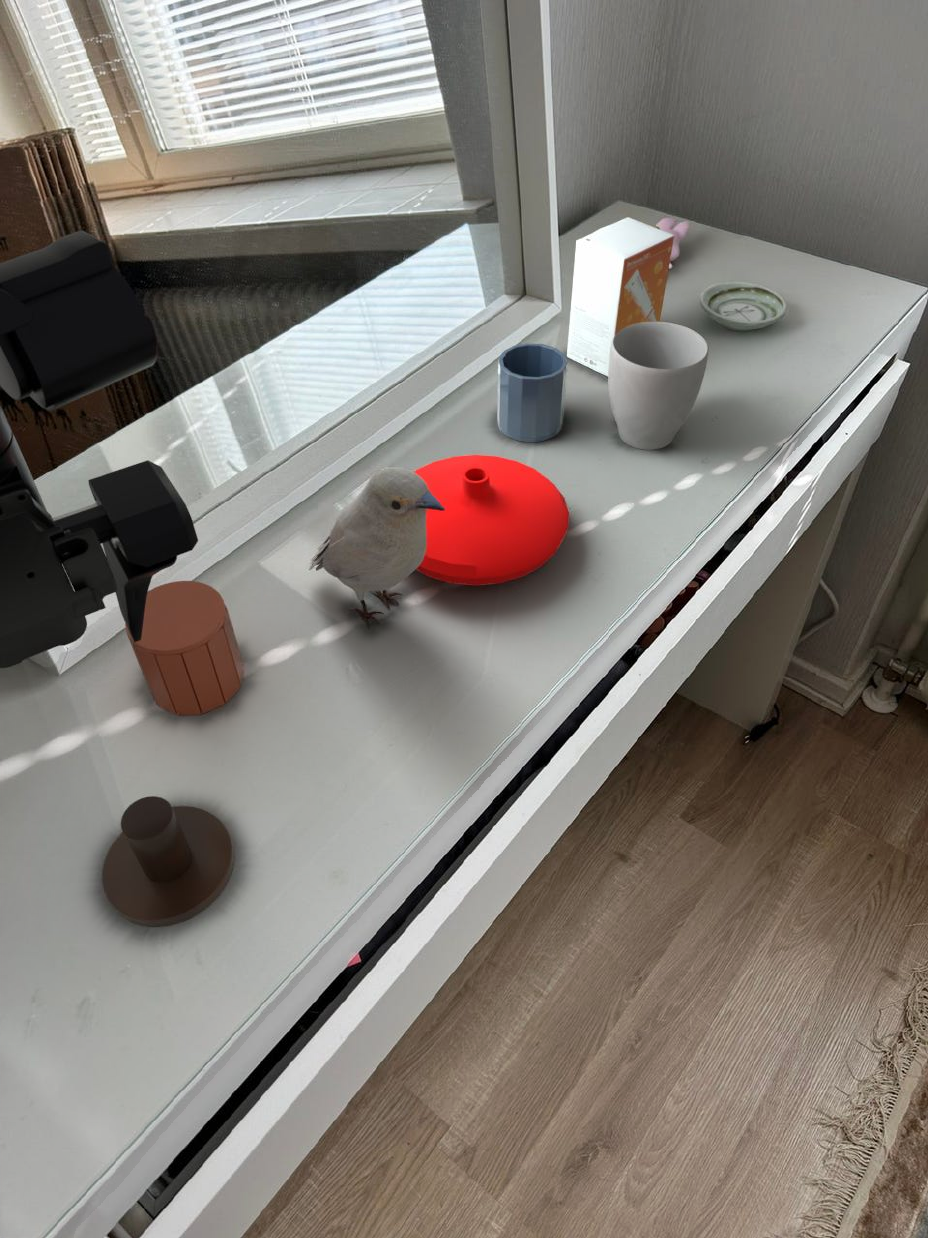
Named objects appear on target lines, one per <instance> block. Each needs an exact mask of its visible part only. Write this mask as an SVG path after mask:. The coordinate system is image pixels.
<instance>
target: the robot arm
mask: <svg viewBox="0 0 928 1238" xmlns="http://www.w3.org/2000/svg"><path fill="white" fill-rule="evenodd" d="M158 349H159V348H158V340H157V333H156V331H155V327H154V324H153V321H152V319H151V317H150V316H149V315H148V314H146V313H145V312H144V310H143V307H142V306H141V303H140V302H139V299H138V298H137V296H136V294H135V292H134V290H133V289H132V287H131V286H130V285H129V283H128V281H127V280H126V279H125V277H124V276H123V274H122V273H121V272H120V271H119V269H118V268H117V267H116V266H115V265H114V263H113V259H112V256H111V253H110V249H109V246H108V243H106V242H104V241H102V240H101V239H99V238H97V237H95V236H93V235H91V234H90V233H88V232H86V231H84V230H82V229H81V230H78V231H74V232H72V233H69V234H67V235H64V236H61V237H59V238H58V239H56V240H54V241H53V242H52V243H50V244H48V245H47V246H45V247H43V248H40V249H38V250H35V251H32V252H29V253H26V254H23V255H20V256H17V257H15V258H12V259H9V260H6V261H3V262H0V387H1V389H2V390H3V391H5V393H7V395H8V396H10V398H12V399H13V400H15V401H21V400H24V399H25V398H28V397H30V398H31V399H32V400H33V401H34V402H35V404H37V405H38V406H40V407H41V408H42V409H44V410H47V411H50V412H51V411H54V410H57V409H58V408H59V409H60V407H63V406H65V405H68V404H70V403H72V402H74V401H76V400H79V399H81V398H83V397H85V396H88V395H90V394H92V393H95V392H97V391H100V390H101V389H104V388H106V387H107V386H110V385H113V384H114V383H117V382H119V381H121V380H124V379H125V378H128V377H130V376H133V375H134V374H137V373H139V372H142V371H143V370H146V369H148V368H151V367H152V366H154V365H155V363H156V362H157V361H158V355H159V350H158ZM87 481H88V486H89V490H90V492H91V494H92V497H93V500H94V503H93V504H90V505H87V506H84V507H81V508H79V509H75V510H72V511H69V512H67V513H64V514H61V515H57V516H56V517H55V516H54V517H52V515H51V514H50V513H49V512H48V510H47V507H46V505H45V503H44V501H43V499H42V496H41V494H40V491H39V489H38V487H37V485H36V483H35V480H34V478H33V475H32V473H31V470H30V468H29V466H28V465H27V462H26V460H25V457H24V455H23V453H22V450H21V448H20V446H19V443H18V441H17V439H16V436H15V434H14V432H13V430H12V427H11V426H10V423H9V421H8V418H7V416H6V413H5V412H4V409H3V407H2V404H0V669H7V668H11V667H15V666H17V665H20V664H21V663H22V662H24V661H25V660H26V659H29V658H32V657H34V656H36V655H39V654H42V653H44V652H47V651H48V650H52V649H54V648H57V647H60V646H61V647H62V646H67V645H70V644H72V643H74V642H77V641H78V640H79V639H81V637H82V636H84V635H85V633H86V630H87V628H88V621H87V618H86V616H89V615H91V614H94V613H96V612H99V611H101V610H104V609H106V608H107V607H106V605H105V603H104V599H105V597H108V596H109V595H112V594H114V593H115V596H116V599H117V603H118V607H119V610H120V613H121V616H122V618H123V620H124V624H125V623H126V625H127V628H128V630H129V632H130V634H131V636H132V638H133V640H134V642H137V641H140V640H141V637H142V629H143V621H144V613H145V604H146V597H147V592H148V591H149V588H150V586H151V582H152V579H153V577H154V576H155V575H156V574H158V573H159V572H161V571H163V570H165V569H168V568H171V567H172V566H174V565H175V564H176V562H177V559H178V556H180V555H183V554H186V553H188V552H192V551H193V550H194V548H195V547H196V545H197V544H198V542H199V538H198V535H197V531H196V528H195V525H194V524H195V523H194V521H193V518H192V516H191V513H190V511H189V508H188V507H187V504H186V503H185V501H184V499H183V498H182V496H181V495H180V493H179V492H178V490H177V488H176V487H175V485H174V484H173V482H172V481H171V480H170V477H168V475H167V473H166V472H165V470H164V468H163V467H162V466H160V465H158V464H156V463H154V462H152V461H151V460H149V459H148V460H147V459H146V460H144V461H141V462H138V463H135V464H132V465H130V466H126V467H123V468H120V469H118V470H114V471H111V472H108V473H105V474H102V475H100V476H99V475H98V476H96V477H93V478H90V479H88V480H87Z"/></svg>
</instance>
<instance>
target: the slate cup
mask: <svg viewBox="0 0 928 1238" xmlns="http://www.w3.org/2000/svg"><path fill="white" fill-rule="evenodd" d="M568 363H569V362H568V359H567V355H566V354H565V353H564V352H562V351H560V350H559V349H558V348H556V347H553V346H551V345H548V344H544V343H532V342H528V343H527V342H526V343H522V344H517V345H513V346H511V347H509V348H507V349H505V350H503V351H502V353H501V354H500V356H499V357H498V359H497V408H496V409H497V410H496V412H497V415H496V416H497V417H496V418H497V426H498V429H499V430H500V432H501V433H502V434H503V435H504V436H506V437H508V438H510V439H512V440H515V441H518V442H524V443H537V442H539V443H540V442H544V441H547V440H550V439H552V438H553V437H556V436H557V435H558V434H559V433H560V431H561V430H562V427H563V422H564V416H565V415H564V414H565V403H566V402H565V401H566V391H567V390H566V389H567V378H568V377H567V376H568Z"/></svg>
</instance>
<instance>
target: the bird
mask: <svg viewBox="0 0 928 1238" xmlns="http://www.w3.org/2000/svg"><path fill="white" fill-rule="evenodd" d="M427 509H433V510H440V511H442V510H443V511H444V510H445V509H444V507H443V506H442V505H441V504H440V502H439V501H438V500H437V499H436V498H435V497H434V496H433V494H432V493H431V492H430V490H429V489H428V486H427V484H426V482H425V481H424V480H423V479H422V478H421V477H420V476H418V475H417V474H416V473H415V472H414V471H413V470H411V469H408V468H405V467H395V466H388V467H384V468H381V469H377V470H376V471H375V472H374V473H373V474H372V475H371V477H370V478H369V480H368V482H367V483H366V485H365V486H364V487H363V488H362V490H361V492H359V493H358V495H357V496H356V497H354V499H352V500H351V501H350V502H349V503H348V504H346V505H345V506H344V508H343V509H342V510H341V511H340V512H339V514H338V515H337V517H336V519H335V522H334V523H333V524H334V525H333V526H332V527H331V529H330V533H329V536H327V538H325V540H324V542H323V543H322V544H320V546H318V547H317V552H316V553H315V555H314V556H313V557H312V559H310V561H311V562H310V563H309V564H310V566H309V568H308V570H309V571H311V570H312V569H313V568H314V567H315V571H316V572H317V571H320V570H321V569H324V570H325V571H326V572H327V573H328V574H329V575H331V576H333V577H334V578H337V579H338V580H339V581H340V582H341V583H342V584H343V585H344V586H347V587H349V588H350V589H352V590H353V591H354V593H355V595H356V598H357V600H358V601H359V602H360V604H361V606H362V610H361V609H359V608H357V607H356V608H355V607H353V608H350V610H352V611H355V612H356V613H357V614H359V617H360V619H361V620H363V621H364V622H365V624H366V626H367V628H368V630H371V624H370V620H371V621H375V622H376V623H378V624H379V625H380V624H381V623H380V621H379V620H378V619H377V618H376V617H375V616H374V615H378V614H381V615H384V614H385V613H384V612H382V611H378V610H373V611H367V605H366V601H365V599H364V597H365V593H366V592H371V593H375V594H377V595H378V596H379V599H380V600H381V601H382V602H384V604H385V605H386V607H387V609H388V610H389V611H390V610H391V609H390V607H391V606H390V602H389V601H391V602H394V603H396V604H397V605H399V606H400V603H399V601H398V600H397V599H396V598H394V597H395V596H403V594H402V593H400V592H395V591H394V592H389V593H388V592H387V590H390V589H392V588H394V587H396V586H398V584H400V583H401V582H402V581H404V580H405V579H406V578H408V577H409V576H410V575H411V574H412V573H413V572H414V571H416V570H415V569H416V568H417V567H418V566H419V565H420V564H421V562H422V561H423V558H424V556H425V553H426V547H427V534H426V512H427Z"/></svg>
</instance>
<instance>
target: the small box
mask: <svg viewBox="0 0 928 1238" xmlns="http://www.w3.org/2000/svg"><path fill="white" fill-rule="evenodd" d="M673 239H674V235H672V234H670V233H667V232H665V231H662V230H660V229H657V228H655V226H651V225H649V224H647V223H644V222H642V221H640V220H636V219H634V218H631V217H629V216H628V217H625V218H622V219H621V220H618V221H615V222H613V223H611V224H609V225H606V226H603V227H601V228H599V229H597V230H595V231H594V232H592V233H590V234H587V235H586V236H583V237H581V238H579V239H576V242H575V253H574V265H573V277H572V290H571V302H570V314H569V323H568V325H569V327H568V336H567V337H568V338H567V349H566V358H568V359H570V360H572V361H574V362H577V363H578V364H581V365H582V366H584V367H587V368H589V369H591V370H593V371H595V372H597V373H599V374H601V375H603V376H605V377H607V378H608V369H609V355H610V347H611V342H612V339H613V337H614V336H615V335H616V334H617V333H618V332H619V331H620V330H621V329H623V328H625V327H627V326H629V325H632V324H636V323H641V322H661V318H662V312H663V307H664V300H665V294H666V289H667V281H668V277H669V276H668V275H669V270H670V269H669V264H670V263H671V261H670V258H671V252H672V246H673Z"/></svg>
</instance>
